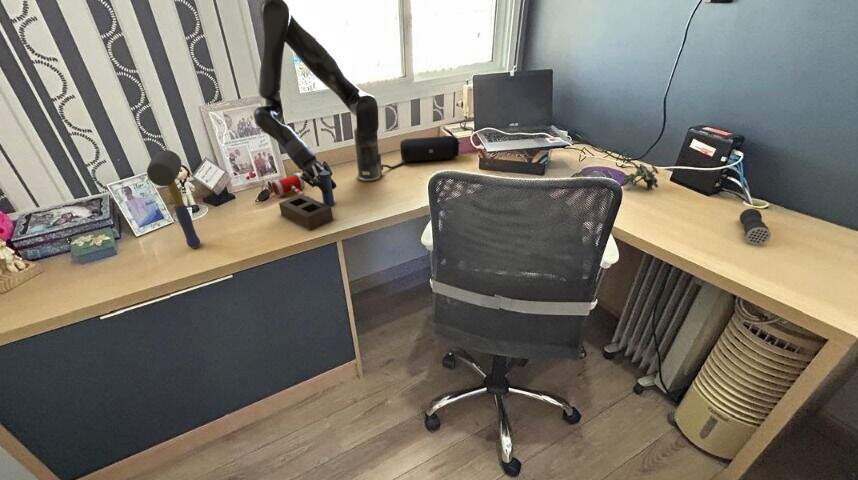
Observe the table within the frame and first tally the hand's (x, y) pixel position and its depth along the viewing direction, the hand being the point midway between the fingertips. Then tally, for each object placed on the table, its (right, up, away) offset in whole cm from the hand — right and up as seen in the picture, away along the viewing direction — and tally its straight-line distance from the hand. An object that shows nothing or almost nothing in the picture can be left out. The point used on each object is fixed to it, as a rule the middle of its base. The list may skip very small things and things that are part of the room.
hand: (331, 190), depth 152 cm
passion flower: (+115, +1, +5) cm, 115 cm away
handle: (-1, -4, +4) cm, 6 cm away
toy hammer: (-15, 0, +12) cm, 19 cm away
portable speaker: (+39, +23, +39) cm, 60 cm away
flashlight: (+133, -19, -24) cm, 137 cm away
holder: (-8, -11, -4) cm, 14 cm away
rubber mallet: (-41, -23, -17) cm, 50 cm away
